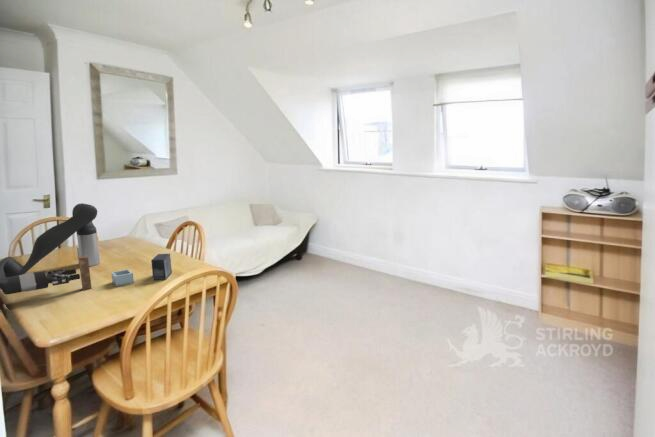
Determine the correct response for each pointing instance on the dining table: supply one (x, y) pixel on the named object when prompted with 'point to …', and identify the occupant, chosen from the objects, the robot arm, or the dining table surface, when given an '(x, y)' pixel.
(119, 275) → the pale blue storage bin
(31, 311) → the dining table surface
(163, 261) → the small box
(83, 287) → the tall wooden pillar
